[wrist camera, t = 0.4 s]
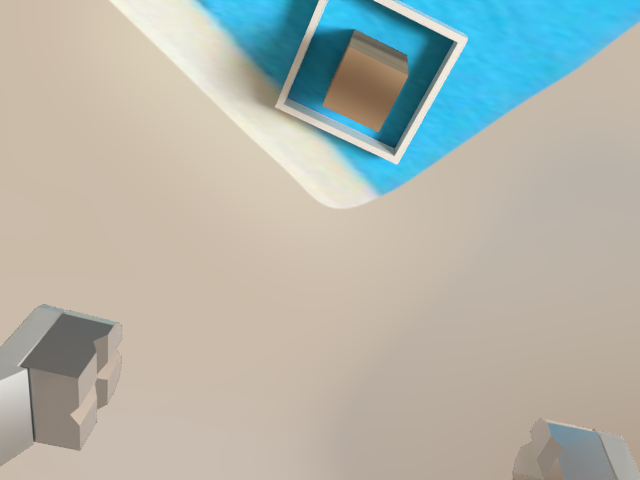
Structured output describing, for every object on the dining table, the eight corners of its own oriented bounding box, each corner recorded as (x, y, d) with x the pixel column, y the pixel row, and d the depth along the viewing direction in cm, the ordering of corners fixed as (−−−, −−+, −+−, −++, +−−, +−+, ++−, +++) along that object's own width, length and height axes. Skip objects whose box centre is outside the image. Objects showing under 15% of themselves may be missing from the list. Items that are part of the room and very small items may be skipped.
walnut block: (354, 29, 49) (349, 46, 43) (406, 54, 50) (408, 75, 44) (330, 82, 52) (322, 105, 46) (380, 106, 53) (378, 132, 46)
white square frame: (334, -33, 47) (331, -31, 45) (465, 34, 49) (468, 39, 47) (278, 100, 53) (274, 107, 52) (397, 156, 55) (397, 164, 53)
